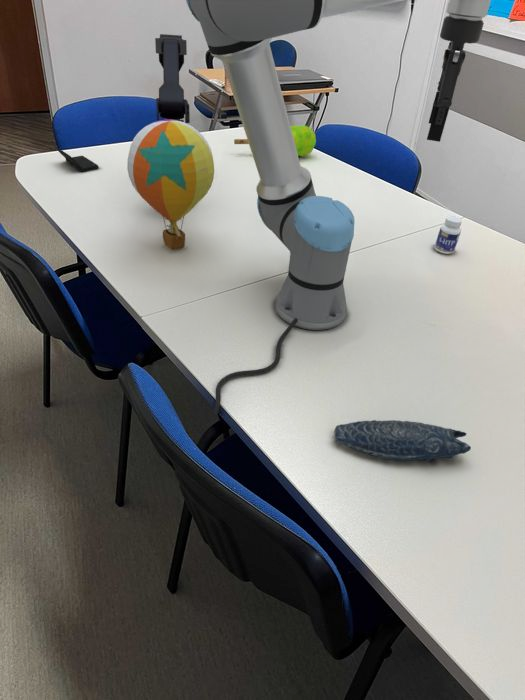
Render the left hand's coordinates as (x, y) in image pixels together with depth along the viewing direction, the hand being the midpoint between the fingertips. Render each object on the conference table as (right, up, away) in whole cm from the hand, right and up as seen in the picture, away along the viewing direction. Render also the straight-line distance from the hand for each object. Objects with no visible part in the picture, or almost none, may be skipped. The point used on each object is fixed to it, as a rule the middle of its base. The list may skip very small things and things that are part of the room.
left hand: (174, 202), depth 147 cm
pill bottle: (+74, -15, -6) cm, 76 cm away
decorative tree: (+29, +29, +43) cm, 60 cm away
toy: (+3, -16, -16) cm, 23 cm away
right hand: (+62, +6, -33) cm, 71 cm away
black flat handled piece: (-35, +18, +21) cm, 45 cm away
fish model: (+47, -58, -63) cm, 97 cm away
